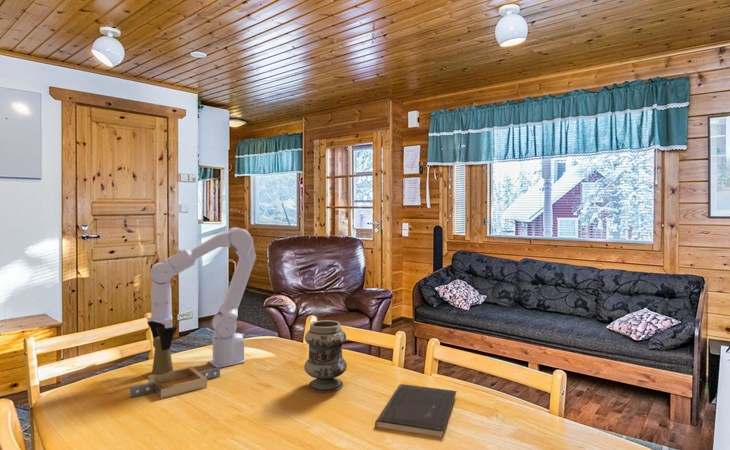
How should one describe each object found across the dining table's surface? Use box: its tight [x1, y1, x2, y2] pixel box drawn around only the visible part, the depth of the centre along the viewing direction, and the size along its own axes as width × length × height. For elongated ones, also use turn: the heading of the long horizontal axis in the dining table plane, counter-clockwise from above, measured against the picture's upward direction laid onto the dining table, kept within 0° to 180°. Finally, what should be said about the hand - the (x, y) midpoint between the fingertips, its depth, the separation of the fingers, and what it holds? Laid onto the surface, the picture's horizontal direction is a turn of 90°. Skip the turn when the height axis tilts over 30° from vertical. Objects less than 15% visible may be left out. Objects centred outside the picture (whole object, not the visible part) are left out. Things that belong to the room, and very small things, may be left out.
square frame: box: [129, 366, 221, 400], centre depth 134 cm, size 24×12×2 cm, turn 129°
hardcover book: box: [374, 383, 457, 437], centre depth 118 cm, size 16×23×2 cm
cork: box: [151, 336, 174, 375], centre depth 144 cm, size 6×6×11 cm
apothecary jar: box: [303, 319, 348, 393], centre depth 134 cm, size 12×12×18 cm
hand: (162, 346), depth 144 cm, fingers open, 7 cm apart
